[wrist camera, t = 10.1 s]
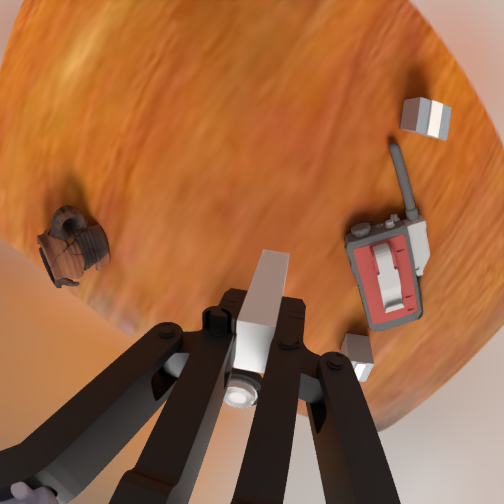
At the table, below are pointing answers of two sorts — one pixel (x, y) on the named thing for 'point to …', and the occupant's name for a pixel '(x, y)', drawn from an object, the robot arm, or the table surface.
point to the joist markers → (427, 124)
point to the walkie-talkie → (390, 260)
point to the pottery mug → (72, 246)
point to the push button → (243, 388)
